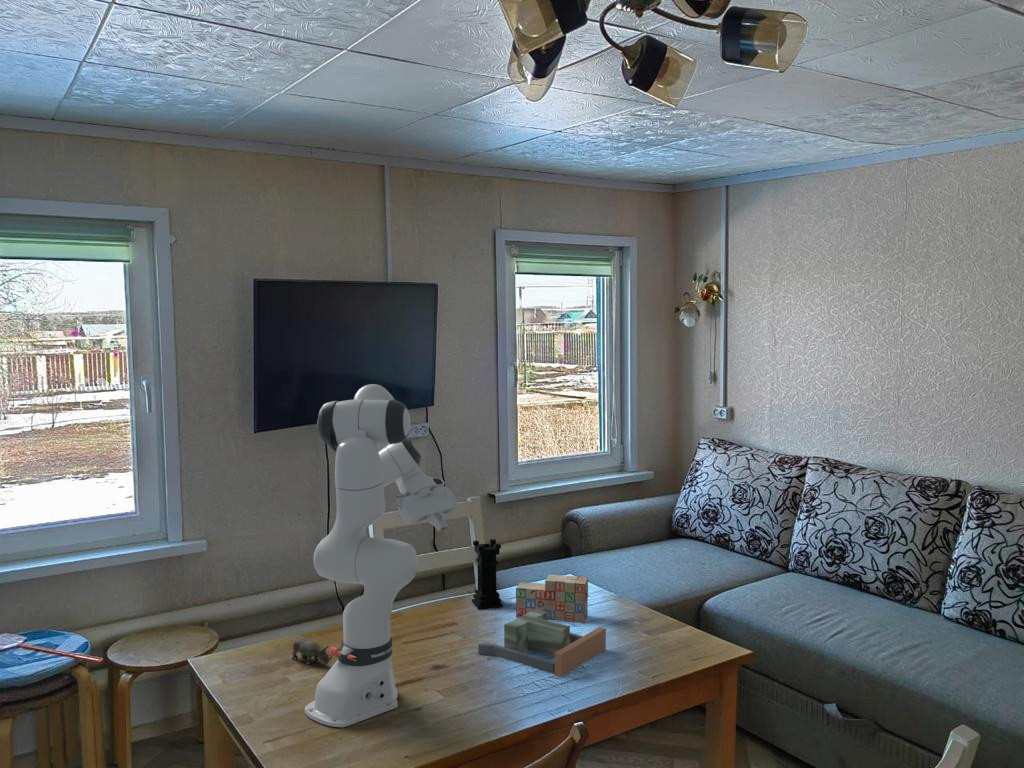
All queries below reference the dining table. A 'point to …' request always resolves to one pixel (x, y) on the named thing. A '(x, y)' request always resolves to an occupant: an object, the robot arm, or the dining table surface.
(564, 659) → the bay
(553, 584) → the stack of blocks
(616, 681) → the dining table surface
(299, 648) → the rhino figurine
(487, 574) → the chess piece
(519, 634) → the T block
